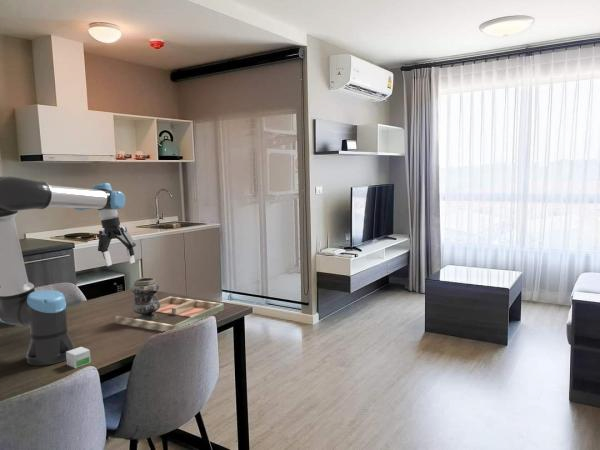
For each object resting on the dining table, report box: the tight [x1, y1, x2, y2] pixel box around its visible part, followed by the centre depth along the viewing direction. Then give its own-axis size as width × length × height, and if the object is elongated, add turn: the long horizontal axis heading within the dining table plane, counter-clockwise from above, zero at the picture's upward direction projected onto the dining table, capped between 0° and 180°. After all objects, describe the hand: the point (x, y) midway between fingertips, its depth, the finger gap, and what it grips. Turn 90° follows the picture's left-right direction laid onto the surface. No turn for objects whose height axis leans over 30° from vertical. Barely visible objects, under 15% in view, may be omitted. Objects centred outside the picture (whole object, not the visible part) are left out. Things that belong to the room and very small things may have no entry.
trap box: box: [115, 296, 225, 332], centre depth 209 cm, size 32×34×3 cm
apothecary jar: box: [130, 276, 160, 322], centre depth 206 cm, size 12×12×18 cm
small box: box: [66, 346, 91, 369], centre depth 159 cm, size 6×6×5 cm
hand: (120, 264), depth 208 cm, fingers open, 13 cm apart
